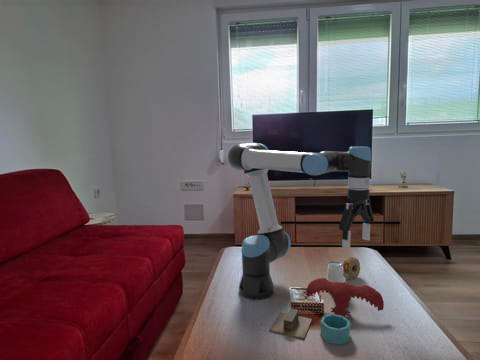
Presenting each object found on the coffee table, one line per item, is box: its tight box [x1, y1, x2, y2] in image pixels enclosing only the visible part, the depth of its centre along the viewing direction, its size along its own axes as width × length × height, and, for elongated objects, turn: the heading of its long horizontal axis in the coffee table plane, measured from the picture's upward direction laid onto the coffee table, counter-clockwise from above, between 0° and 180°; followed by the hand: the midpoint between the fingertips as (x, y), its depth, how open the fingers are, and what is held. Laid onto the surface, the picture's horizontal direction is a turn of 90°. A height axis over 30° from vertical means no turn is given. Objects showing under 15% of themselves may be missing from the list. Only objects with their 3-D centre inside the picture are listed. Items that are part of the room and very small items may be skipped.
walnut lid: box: [269, 308, 313, 340], centre depth 112 cm, size 12×12×5 cm
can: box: [326, 260, 344, 282], centre depth 136 cm, size 6×6×12 cm
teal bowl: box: [320, 313, 351, 346], centre depth 105 cm, size 9×9×5 cm
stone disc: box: [342, 256, 361, 281], centre depth 147 cm, size 10×4×10 cm, turn 125°
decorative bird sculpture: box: [305, 277, 385, 319], centre depth 120 cm, size 28×9×15 cm
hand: (356, 243), depth 121 cm, fingers open, 13 cm apart
